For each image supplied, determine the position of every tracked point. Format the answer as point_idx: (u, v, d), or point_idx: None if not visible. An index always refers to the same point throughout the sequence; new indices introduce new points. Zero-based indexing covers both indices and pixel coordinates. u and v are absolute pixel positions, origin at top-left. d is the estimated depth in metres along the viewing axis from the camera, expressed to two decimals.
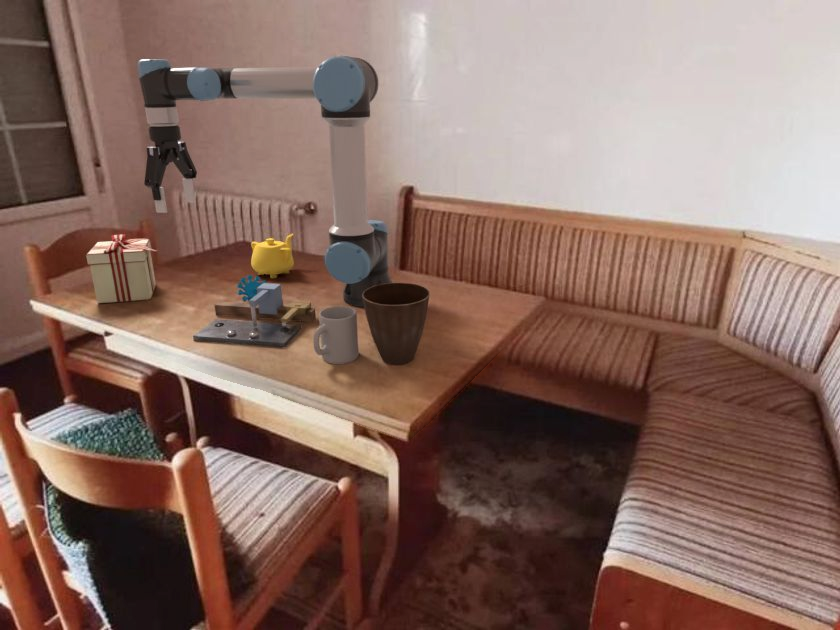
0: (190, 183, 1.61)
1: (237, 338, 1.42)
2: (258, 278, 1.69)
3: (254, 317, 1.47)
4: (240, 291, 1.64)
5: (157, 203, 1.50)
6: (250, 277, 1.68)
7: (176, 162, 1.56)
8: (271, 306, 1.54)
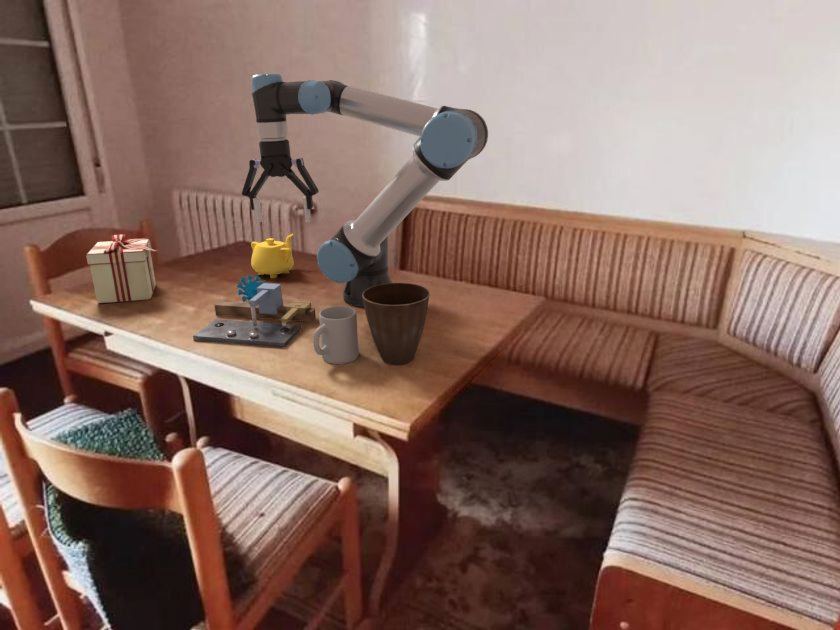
0: None
1: (237, 338, 1.42)
2: (258, 278, 1.69)
3: (254, 317, 1.47)
4: (240, 291, 1.64)
5: None
6: (250, 277, 1.68)
7: None
8: (271, 306, 1.54)
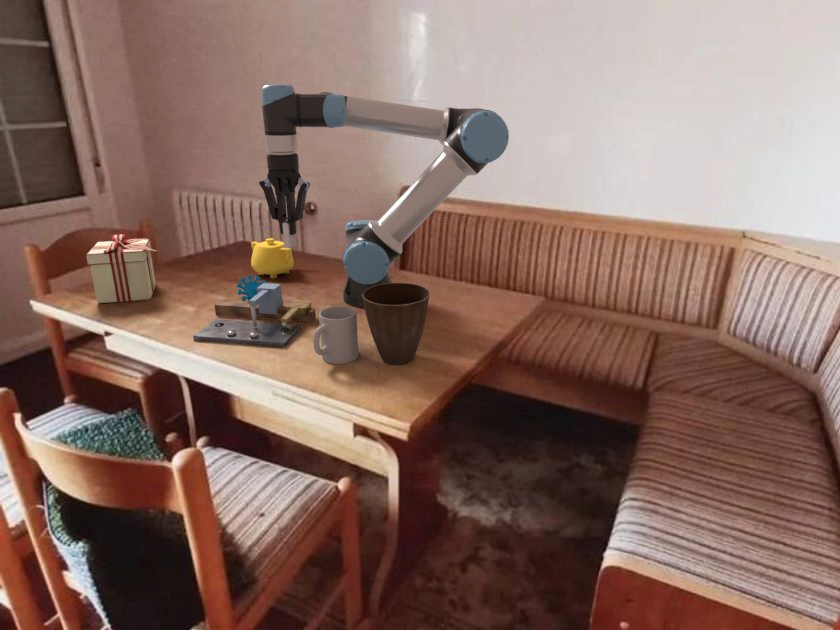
0: None
1: (237, 338, 1.42)
2: (258, 278, 1.70)
3: (254, 317, 1.47)
4: (239, 291, 1.64)
5: None
6: (250, 277, 1.68)
7: None
8: (271, 306, 1.54)
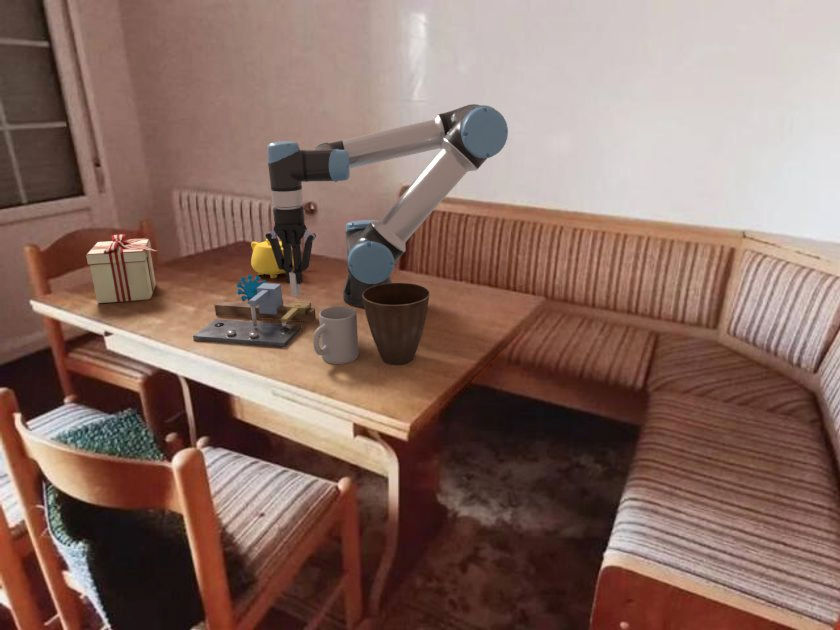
0: None
1: (237, 338, 1.42)
2: (258, 278, 1.70)
3: (254, 317, 1.47)
4: (239, 290, 1.64)
5: None
6: (250, 277, 1.68)
7: None
8: (271, 306, 1.54)
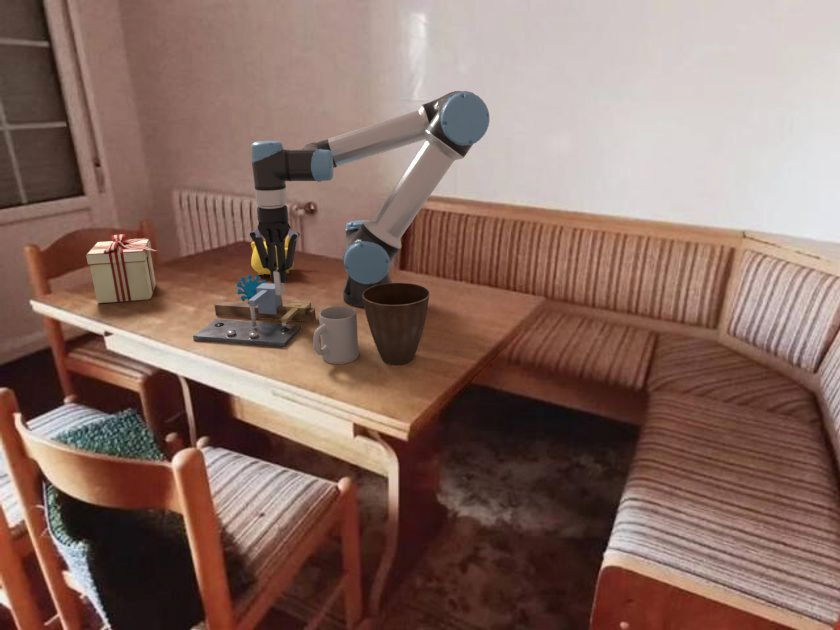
0: None
1: (237, 338, 1.42)
2: (258, 278, 1.70)
3: (253, 317, 1.47)
4: (239, 290, 1.64)
5: None
6: (250, 276, 1.68)
7: None
8: (270, 306, 1.54)
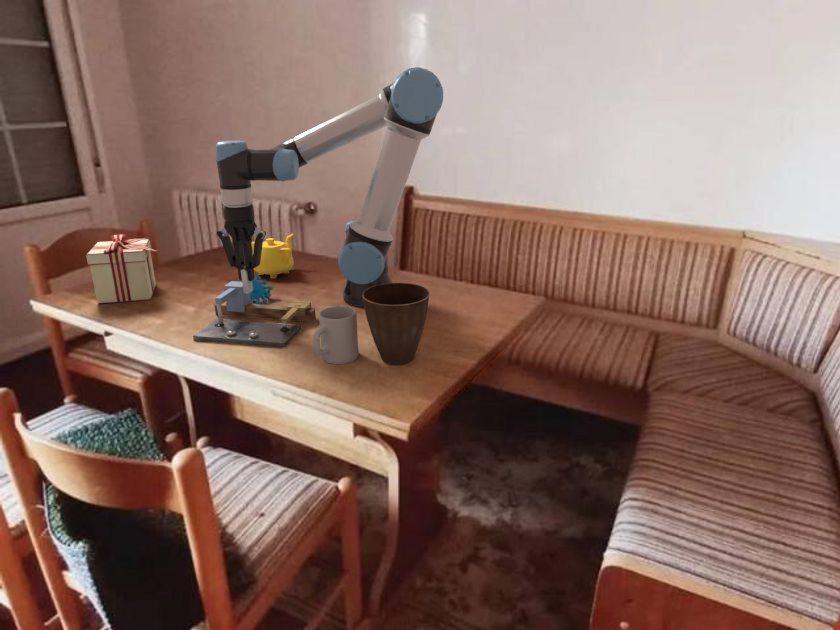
0: None
1: (237, 338, 1.42)
2: (258, 277, 1.70)
3: (220, 315, 1.49)
4: None
5: None
6: None
7: None
8: (238, 304, 1.56)
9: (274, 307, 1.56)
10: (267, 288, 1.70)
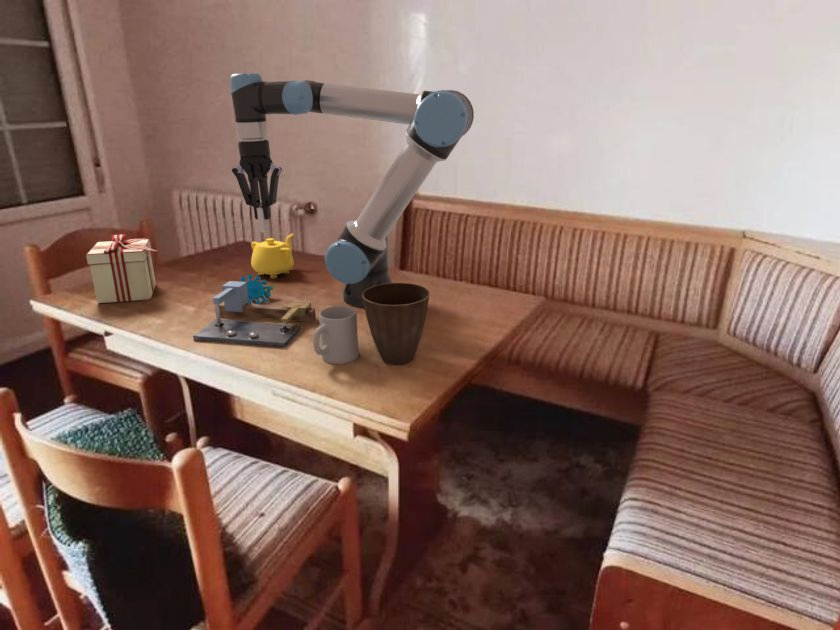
0: None
1: (237, 338, 1.42)
2: (258, 277, 1.70)
3: (218, 314, 1.49)
4: None
5: None
6: (250, 276, 1.69)
7: None
8: (236, 304, 1.56)
9: (274, 307, 1.56)
10: (267, 288, 1.70)
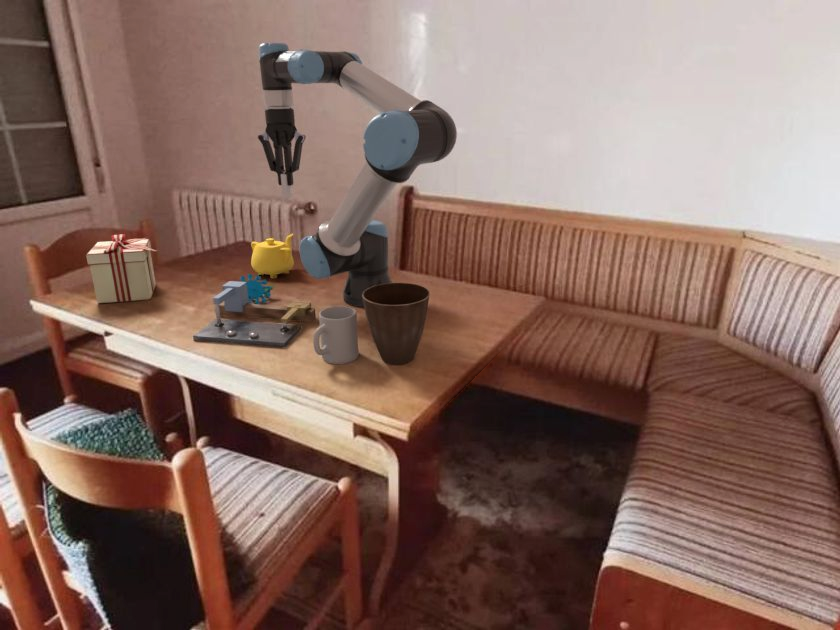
0: None
1: (237, 338, 1.42)
2: (258, 277, 1.70)
3: (218, 314, 1.49)
4: None
5: None
6: (250, 276, 1.69)
7: None
8: (236, 304, 1.56)
9: (274, 307, 1.56)
10: (267, 288, 1.70)
